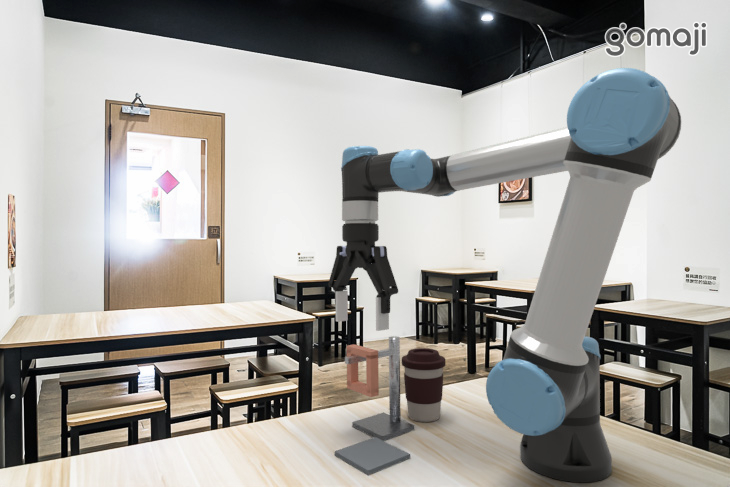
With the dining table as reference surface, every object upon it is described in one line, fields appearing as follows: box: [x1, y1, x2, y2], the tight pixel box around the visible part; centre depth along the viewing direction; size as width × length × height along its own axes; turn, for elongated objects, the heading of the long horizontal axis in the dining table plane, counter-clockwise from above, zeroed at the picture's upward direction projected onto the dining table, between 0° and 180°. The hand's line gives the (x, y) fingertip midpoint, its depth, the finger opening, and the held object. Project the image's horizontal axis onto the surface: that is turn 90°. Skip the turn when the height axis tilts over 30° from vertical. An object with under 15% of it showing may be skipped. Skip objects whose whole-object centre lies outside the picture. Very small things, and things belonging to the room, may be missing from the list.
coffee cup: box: [401, 347, 446, 423], centre depth 109 cm, size 10×10×15 cm
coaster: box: [334, 437, 411, 476], centre depth 89 cm, size 10×10×1 cm
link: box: [346, 344, 380, 398], centre depth 99 cm, size 8×2×9 cm, turn 39°
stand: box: [344, 335, 415, 442], centre depth 101 cm, size 10×14×19 cm
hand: (361, 325), depth 99 cm, fingers open, 13 cm apart
